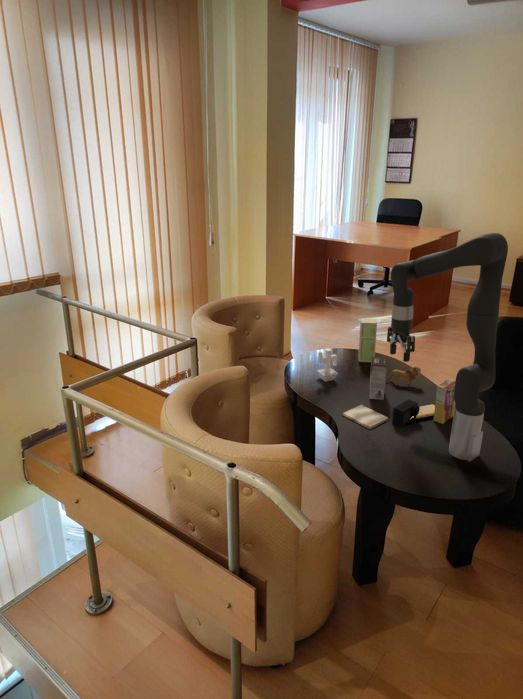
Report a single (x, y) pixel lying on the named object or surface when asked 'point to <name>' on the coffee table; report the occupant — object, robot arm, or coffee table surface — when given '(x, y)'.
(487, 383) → the robot arm
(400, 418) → the digital camera
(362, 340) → the toy refrigerator
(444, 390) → the candy box
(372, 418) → the birch board
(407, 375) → the lion figurine
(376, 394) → the coffee box
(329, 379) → the figurine
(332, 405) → the coffee table surface
